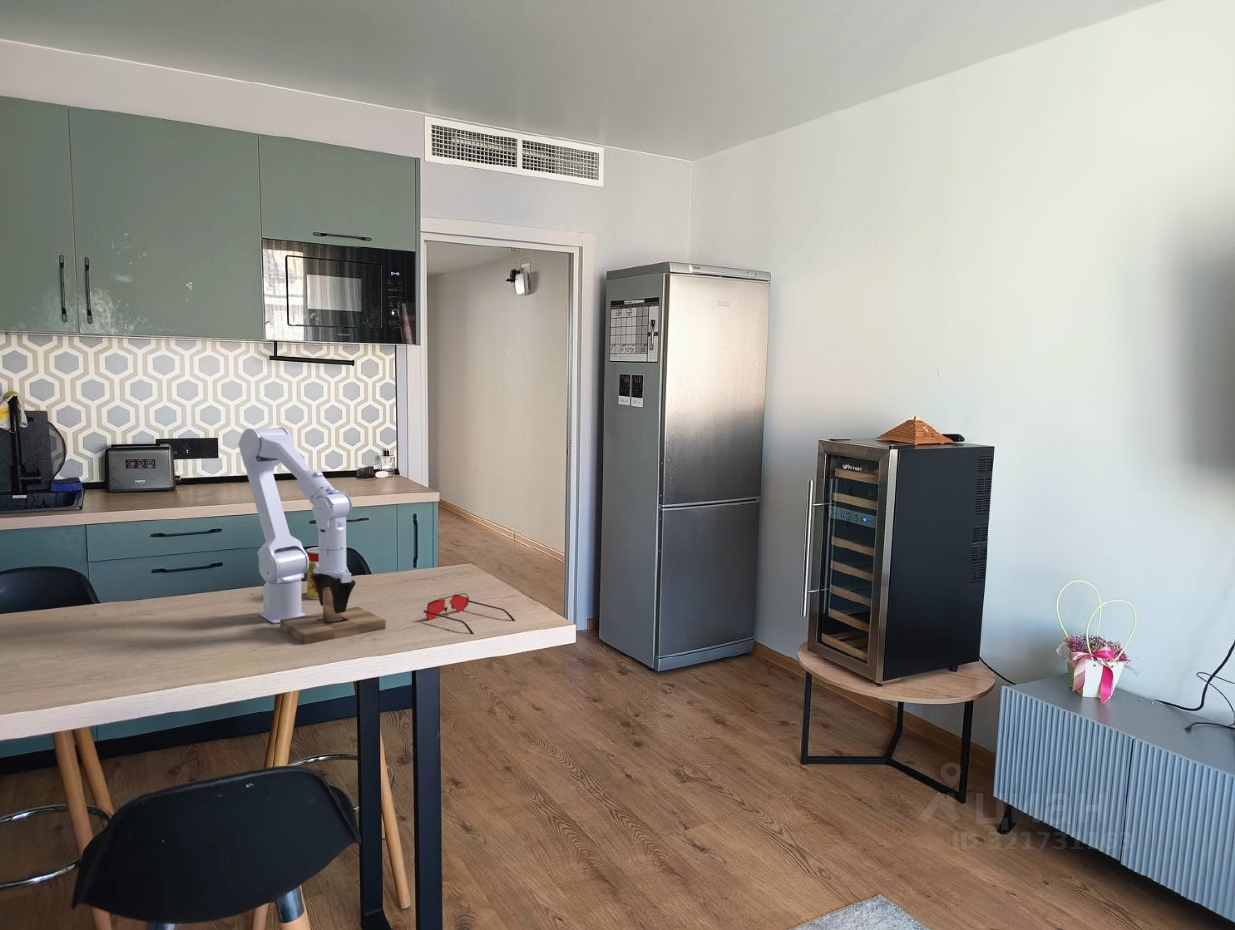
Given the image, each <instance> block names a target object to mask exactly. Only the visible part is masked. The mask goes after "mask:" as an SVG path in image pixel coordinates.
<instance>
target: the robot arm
mask: <svg viewBox="0 0 1235 930" xmlns="http://www.w3.org/2000/svg"><path fill="white" fill-rule="evenodd" d="M238 441H239V442H238V443H237V445H238V448H239V452H240V455H241V459H242V462H243V463H242V464H243V466H244V468H245V471H246V474H247V479H248V482H249V486H250V488H251V492H252V496H253V500H254V504H255V507H256V511H257V515H258V518H259V522H260V525H261V529H262V532H263V535H264V541H265V542H264V543H263V544H262V545H261V546H260V548H259V549H258V551H257V555H258V556H257V557H258V570H259V574H260V576H261V577H262V578H263V580H264V585H263V589H262V595H263V596H262V598H263V599H262V600H263V603H262V604H263V605H262V606H263V611H261V612H259V615H260V616H261V617H262V618H264V619H266V620H268V621H269V622H270V623H272V624H280V620H282V619H288V618H294V617H300V616H306V615H307V614H306V613H304V612H303V611H302V610H303V609H302V608H303V606H302V579H304V578H305V574H307V570H308V568H309V558H308V555H307V551H305V549H304V547H303V543H302V542H301V541H302V540H299V539H297V538H296V537H294V536H293V535H291V533H290V529H289V526H288V522H287V519H286V515H285V512H284V508H283V505H282V500H281V497H280V493H279V490H278V487H277V483H276V480H275V476H274V472H273V471H274V469H275V467H277V466H278V465H280V463H281V464H282V466H284V467H285V468H286V469H287V471H289V472H290V473H291V474H292V475H293V476H294V477H295V478H296V479H297V481H296V487H297V488H298V489H299V491H300V493H302V494H303V495H304V497H305V498H306V499H307V501H308V502H309V503H310V504H311V505H312V507H311V511H312V514H313V516H314V518H315V525H316V528H317V529H318V547H319V562H317V563H315V569H314V573H316V574H312V575H311V579H312V580H313V582H314V584H315V587H316V589H317V593H318V597H319V600H318V601H319V605H320V606H321V607H323V589H324V588H327V587H329V588H330V590H331V594H332V598H333V605H334V611H335V613H343V612H345V611H346V609H347V608H348V603H349V600H350V596H351V593H352V591H353V589H354V587H355V586H356V580H353V579H352V573H351V572H350V571H349V569H348V567H347V518H348V517H349V516H350V515H351V514H352V511H353V504H352V499H351V498H350V497H349V495H348V493H346V492H344V491H339V489H335V488H334V486H332V484H331V483H330V482H329V481H328V480H327V479H326V477H325V476H324V474H323V472H322V471H321V470H318V469H311V468H310V467H309V465H308V464H307V463H306V461H305V459H304V458H303V457H302V455H301V454H300V452H299V451H298V450H297V448H296V447H295V445H294V444H295V443H294V441H295V440H294V437H293V436H292V435H291V433H290V432H289V430H287V428H285V427H277V428H275V427H274V428H246V429H245V430H243V431H242V433H241V436H240V439H239V440H238ZM335 580H336V581H335Z"/></svg>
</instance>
